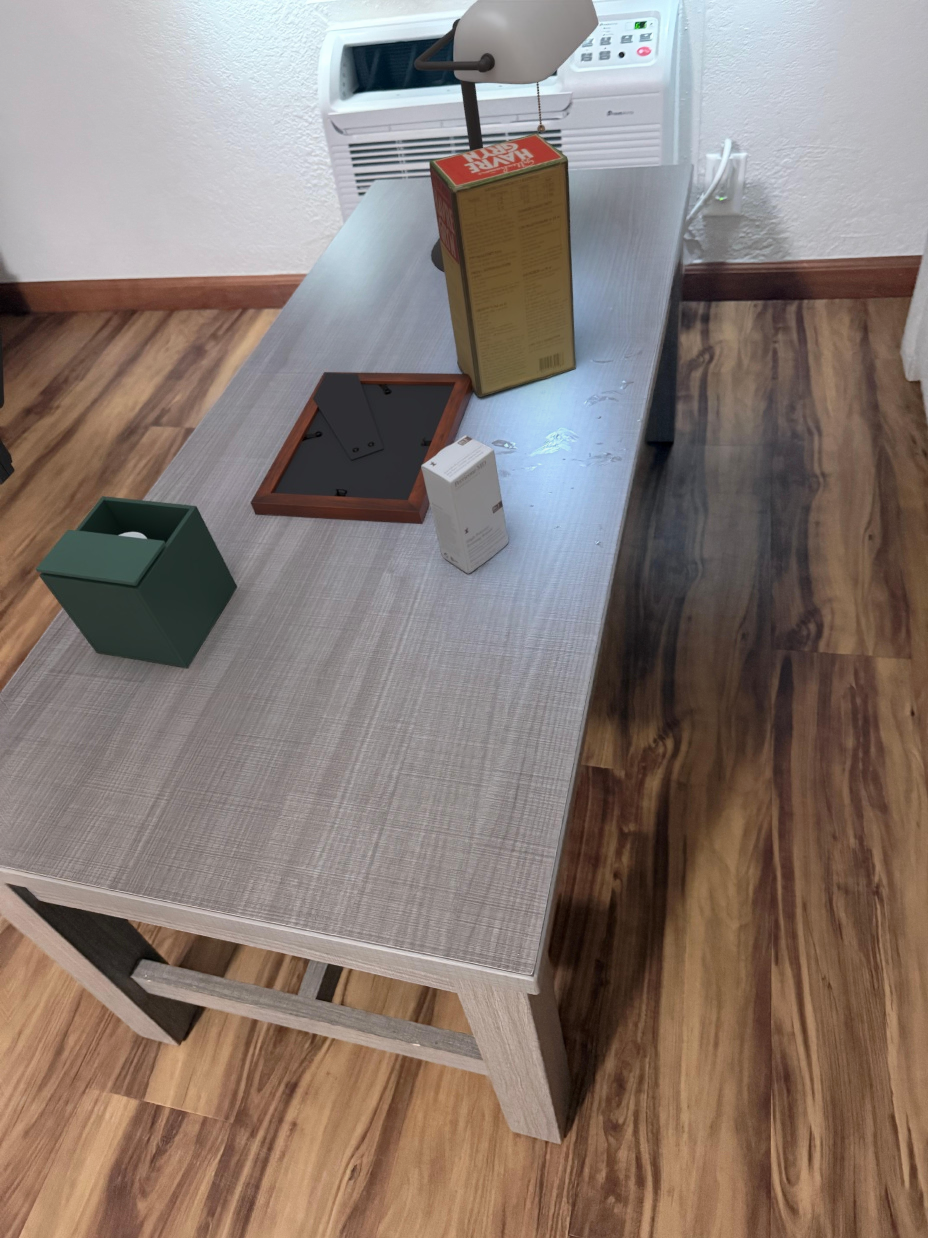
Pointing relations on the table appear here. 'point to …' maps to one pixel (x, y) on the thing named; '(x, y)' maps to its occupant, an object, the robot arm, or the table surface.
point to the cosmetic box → (466, 503)
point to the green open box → (150, 585)
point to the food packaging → (507, 260)
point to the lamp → (509, 51)
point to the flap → (101, 557)
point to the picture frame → (365, 447)
